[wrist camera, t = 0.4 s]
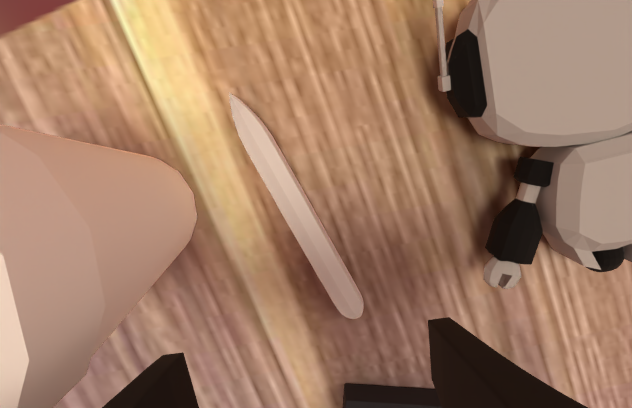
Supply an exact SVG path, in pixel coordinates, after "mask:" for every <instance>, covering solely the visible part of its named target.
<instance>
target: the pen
mask: <svg viewBox="0 0 632 408" xmlns="http://www.w3.org/2000/svg"><path fill="white" fill-rule="evenodd" d="M229 97H230V106H231V111H232V116H233V120H234V123H235V127H236V129H237V132H238V135H239V138H240V140H241V141H242V143H243V145H244V147H245V149H246V151H247V153H248V154H249V156H250V158H251V160H252V162H253V164H254V165H255V167H256V169H257V171H258V172H259V174H260V176H261V178H262V179H263V181H264V183H265V185H266V186H267V188H268V190H269V192H270V194H271V195H272V197H273V199H274V201H275V203H276V204H277V206H278V208H279V210H280V211H281V213H282V215H283V217H284V218H285V220H286V222H287V224H288V225H289V227H290V229H291V231H292V232H293V234H294V236H295V238H296V239H297V241H298V243H299V244H300V246H301V248H302V250H303V251H304V253H305V255H306V257H307V258H308V260H309V262H310V264H311V265H312V267H313V269H314V270H315V272H316V274H317V276H318V277H319V279H320V281H321V283H322V284H323V286H324V288H325V290H326V291H327V293H328V295H329V296H330V298H331V300H332V301H333V303H334V305H335V306H336V308H337V309H338V311H339V312H340V313H341V314H342V315H343V316H345V317H347V318H350V319H356V318H359V317H360V316H361V315H362V313H363V308H364V303H363V299H362V296H361V293H360V291H359V290H358V288H357V286H356V284H355V282H354V281H353V279H352V277H351V275H350V273H349V272H348V270H347V268H346V266H345V264H344V263H343V261H342V259H341V257H340V256H339V254H338V252H337V250H336V248H335V247H334V245H333V243H332V241H331V239H330V238H329V236H328V234H327V232H326V230H325V229H324V227H323V225H322V223H321V221H320V220H319V218H318V216H317V214H316V212H315V211H314V209H313V207H312V205H311V203H310V202H309V200H308V198H307V196H306V195H305V193H304V191H303V189H302V187H301V186H300V184H299V182H298V180H297V179H296V177H295V175H294V173H293V171H292V170H291V168H290V166H289V164H288V163H287V161H286V159H285V157H284V155H283V154H282V152H281V150H280V148H279V147H278V145H277V143H276V142H275V140H274V138H273V136H272V135H271V133H270V132H269V130H268V129H267V128H266V126H265V125H264V124H263V122H262V121H261V120H260V119H259V117H258V116H257V115H256V114H255V113H254V112H253V111H252V110H251V109H250V108H249V107H248V106H247V105H245V104H244V103H243V102H242V101H241V100H240V99H238V98H237V97H235V96H234V95H233V94H231V93H230V92H229Z"/></svg>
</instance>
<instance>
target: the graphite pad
mask: <svg viewBox="0 0 632 408" xmlns="http://www.w3.org/2000/svg"><path fill="white" fill-rule="evenodd" d="M343 408H442V406H441V403H440V400H439V398H438V395H437V392H436V389H421V388H406V387H391V386H376V385H361V384H345V385H344V397H343Z"/></svg>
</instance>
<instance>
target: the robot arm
mask: <svg viewBox="0 0 632 408" xmlns="http://www.w3.org/2000/svg"><path fill="white" fill-rule="evenodd" d="M428 328H429V343H430V359H431V374H432V381H433V384H434V387H435V389H436V392H437V395H438V398H439V400H440V403H441V406H442V408H588V407H586V406H584V405H582V404H580V403H578V402H576V401H575V400H573V399H571V398H569V397H567V396H566V395H564V394H562V393H560V392H559V391H557V390H555V389H554V388H552V387H550V386H549V385H547V384H545V383H544V382H542V381H541V380H539V379H537V378H536V377H534V376H532V375H531V374H529V373H528V372H526V371H525V370H523V369H521V368H520V367H518V366H517V365H515V364H514V363H512V362H511V361H509V360H508V359H506V358H505V357H503V356H502V355H501V354H499V353H498V352H496V351H495V350H493V349H492V348H491V347H489V346H488V345H486V344H485V343H484V342H482V341H481V340H479V339H478V338H477V337H475V336H474V335H473V334H471V333H470V332H469V331H467V330H466V329H464V328H463V327H462V326H460V325H459V324H458V323H456V322H455V321H454V320H452V319H451V318H449V317H448V318H441V319H433V320H428ZM102 408H199V406H198V403H197V399H196V396H195V392H194V389H193V385H192V382H191V378H190V375H189V371H188V368H187V364H186V360H185V357H184V353H176V354H169V355H163V356H161V357H160V358H159V359H158V360H156V361H155V362H154V363H153V364H151V365H150V366H149V367H148V368H147V369H146V370H144V371H143V372H142V373H141V374H140V375H139V376H138V377H136V378H135V379H134V380H133V381H132V382H131V383H130V384H129V385H127V386H126V387H125V388H124V389H123V390H122V391H121V392H119V393H118V394H117V395H116V396H115V397H114V398H113V399H111V400H110V401H109V402H108V403H107V404H106V405H105V406H103V407H102Z"/></svg>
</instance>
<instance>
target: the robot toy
mask: <svg viewBox="0 0 632 408" xmlns="http://www.w3.org/2000/svg"><path fill="white" fill-rule="evenodd" d="M442 6H444V4H443V0H433V8H435V15H436V28H437V40H438V52H439V65H440V76H437V77H438V89H439V90H440V91H442V92H445V91H446V93H447V99H448V100H449V102H450V104H451V105H452V107H453V109H454V110H455V112H456V114H457V115H458V117H465V118H468V119H469V121H470V122H471V124H472V125H473V127H474V128H475V130H476V131H477V133H478V134H479V135H481V136H484V137H486V138H489V139H491V140H494V141H496V142H500V143H506V144H515V145H524V146H538V147H540V148H539V149H538V150H537V151H536V152H535V153H534V154H533V155H532V157H531V158H526V157H520V158H519V161H518V164H517V167H516V170H515V173H514V178H515V179H516V180H517V181H518V182H521V184H520V187H519V191H518V194H517V197H516V199H515V200H513V201H512V202H511V203H510V204H508V205H507V206H506V207H505V208H504V209H503V210H502V211H501V212H500V213H499V214H498V215H496V216H495V218H494V221H493V225H492V228H491V231H490V234H489V238H488V241H487V244H486V247H485V248H486V249H487V250H488V252H489V253H491V254H493V255H494V256H493V257H492V258H491V259H490V260H489V261H488V262H487V263H486V264H485V265H484V280H485V281H486V283H487V284H488V285H490V286H493V287H497V285H500V286H501V287H502V288H504V289H509V288H513V287H515V285H516V284H517V282H518V281H519V279H520V278H521V271H520V266H519V263H520V264H532V261H533V258H534V255H535V253H536V250H537V247H538V244H539V241H540V238H541V235H542V233H543V234H544V236H545V238H546V239H547V241H548V243H549V244H550V246H551V248H552V249H553V250H555V251H557V252H559V253H561V254H562V255H564V256H566V257H568V258H570V259H572V260H573V261H575V262H577V263H579V264H581V265H583V266H585V267H586V268H588V269H590V270H593V271H596V272H606V271H611V270H614V269H616V268H618V267H619V266H620V265H621V263H622V262H623V260H624V259H626V260H628V261H631V262H632V0H471V1H470V2H469V4H468V5H467V6H466V7H465V8H464V10H463V11H462V12H461V13H460V16H459V20H458V25H457V29H456V34H455V38H453V39H452V40H450V41H449V42H447V43H446V48H445V39H444V25H443V11H442Z"/></svg>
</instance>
